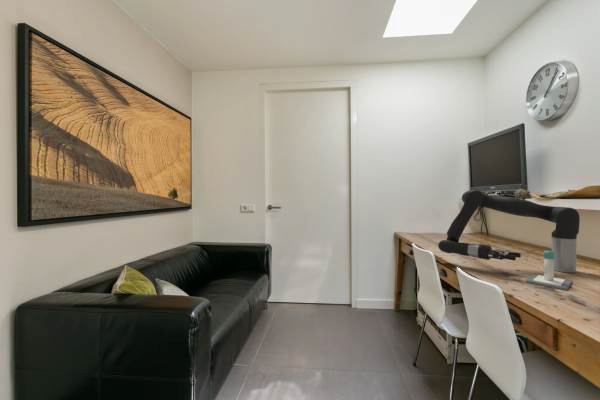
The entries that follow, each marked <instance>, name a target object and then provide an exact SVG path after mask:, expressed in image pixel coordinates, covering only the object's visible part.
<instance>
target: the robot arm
mask: <svg viewBox="0 0 600 400" xmlns="http://www.w3.org/2000/svg"><path fill="white" fill-rule="evenodd" d="M461 200H462V202H463V206H462V208H461V209H460V212H459V213H458V214H457V216H456V217H455V218H454V219H453V221H452V222H451V224H450V226H449V228H448V230H447V231H446V235H447V238H446V239H442V240H441V241H439V242H438V244H437V246H438V249H439V250H440V251H441V252H442V253H445V254H457V255H460V256H466V257H470V258H474V259H479V260H480V259H481V260H486V261H489V260H491V259H495V260H500V261H502V260H510V261H516V260H517V258H519V259H520V258H521V256H522V254H521V253H520V252H516V251H514V252H513V251H512V250H510V249H509V250H508V249H507V250H506V249H500V248H495V249H492V246H491V245H489V244H488V245H487V244H481V243H467V242H460V238H461V236H462V235H463V233H464V231H465V228H466V227H467V226H468V223H469V221H470V220H471V218H472V216H474V213H475V212H476V211H477V210H478V208H485V209H486V208H487V209H491V210H493V211H497V212H501V213H504V214H509V215H513V216H516V217H517V216H518V217H525V218H536V219H540V220H543V221H548V222H551V223H554V224H555V229H554V230H553V231H551V251H554V252H555V256H554V272H555V271H556V272H561V273H568V274H569V273H570V274H575V273H577V236H578V234H579V233H580V221H581V219H580V218H581V217H580V213H579V211H577V210H576V209H575V208H572V207H569V206H568V207H567V206H566V207H565V206H552V205H543V204H539V203H536V202H533V201H531V200H528V199H523V198H519V197H510V196H501V195H500V196H499V195H489V194H485V193H483V192H482V191H481V190H478V189H469V190H467V191H465V192H464V193H463V194H462V195H461Z"/></svg>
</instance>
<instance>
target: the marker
mask: <svg viewBox="0 0 600 400" xmlns="http://www.w3.org/2000/svg"><path fill="white" fill-rule="evenodd" d="M554 256H555V252H554V251H552V250H546V249H545V250H543V262H544V263H543V264H544V265H543V275H544V279H545V280H548V281H554V277H555V270H554Z"/></svg>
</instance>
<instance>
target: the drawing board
mask: <svg viewBox="0 0 600 400" xmlns="http://www.w3.org/2000/svg"><path fill="white" fill-rule="evenodd" d="M525 283H527V284H531V285H536V286H541V287H542V286H543V287H547V288H552V289H557V290H562V291H568V289H569V288H570V287H571V285H572V284H573V280H572V279H569V278H568V279H567V278H562V277H556V276H554V281H548V280H545V279H544V274H539V273H533V274H532V275H531V276H529V277H528V278H527V279H525Z"/></svg>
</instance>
